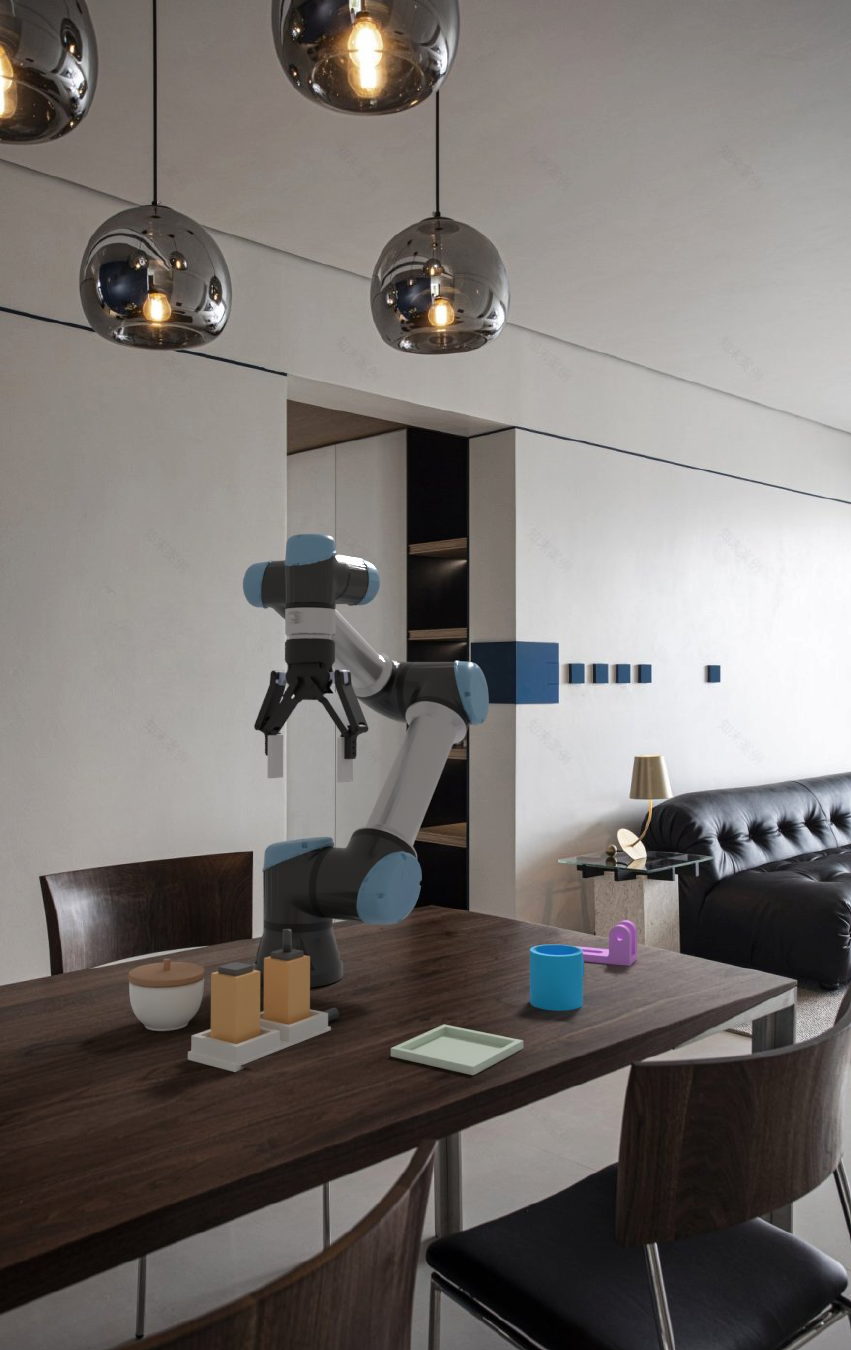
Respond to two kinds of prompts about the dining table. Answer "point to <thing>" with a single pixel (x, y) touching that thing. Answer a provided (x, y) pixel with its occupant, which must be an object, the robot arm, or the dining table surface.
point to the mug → (556, 977)
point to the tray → (457, 1049)
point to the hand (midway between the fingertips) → (309, 780)
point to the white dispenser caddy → (271, 1014)
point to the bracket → (616, 946)
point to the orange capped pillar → (235, 1003)
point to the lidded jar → (166, 994)
